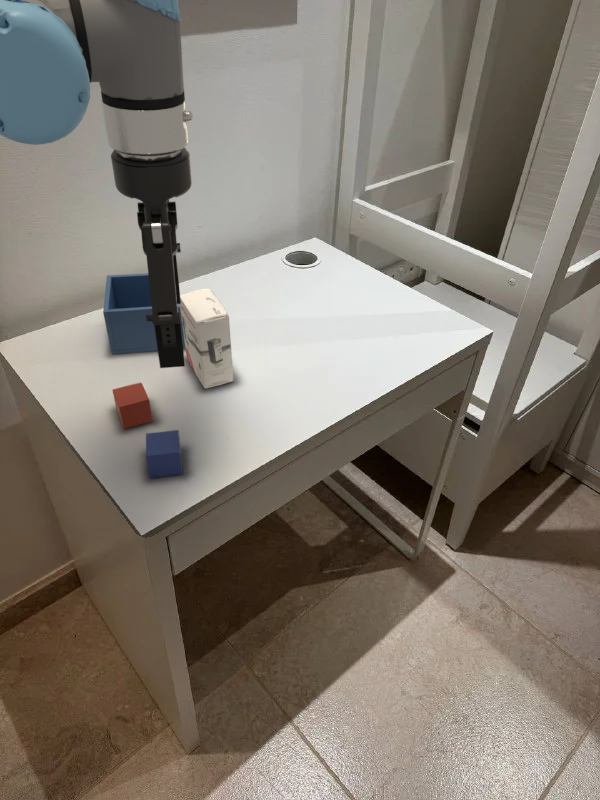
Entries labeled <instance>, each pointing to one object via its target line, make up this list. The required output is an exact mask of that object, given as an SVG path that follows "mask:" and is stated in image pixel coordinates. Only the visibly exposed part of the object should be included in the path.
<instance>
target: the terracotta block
mask: <svg viewBox="0 0 600 800" xmlns="http://www.w3.org/2000/svg"><path fill="white" fill-rule="evenodd" d="M111 391H112V395H113V400H114V404H115V409H116V412H117V415H118V418H119V421H120V423H121V426H122V428H123V430H127V429H129V428H133V427H137V426H140V425H143V424H147V423H151V422H153V414H152V409H151V408H152V407H151V401H150V398H149V395H148V394H147V390H146V389H145V387H144V384H143V383H142V382H137V383H133V384H129V385H124V386H121V387H116V388H112V390H111Z"/></svg>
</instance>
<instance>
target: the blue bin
mask: <svg viewBox="0 0 600 800" xmlns="http://www.w3.org/2000/svg"><path fill="white" fill-rule="evenodd" d="M105 279H106V281H105V290H104V301H103V311H102V313H103V318H104V324H105V327H106V328H105V329H106V332H107V339H108V343H109V347H110V352H111V355H121V354H133V353H134V354H135V353H147V352H158V349H157V341H156V334H155V327H154V324H153V322H152V321H150V322H147V319H146V315H152V304H151V294H150V285H149V275H148V272H147V273H128V274H127V273H126V274H109V275H106V278H105ZM178 280H179V278H178ZM179 281H180V280H179ZM179 290H180V288H179ZM177 308H178V312H179V313H180V323H181V332H182V342H183V350H186V346H185V339H184V332H183V324H182V317H181V310H180V304H177Z"/></svg>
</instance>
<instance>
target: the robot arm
mask: <svg viewBox="0 0 600 800" xmlns="http://www.w3.org/2000/svg"><path fill="white" fill-rule="evenodd" d="M181 22H182V15H181V12H180V7H179V0H0V136H2V137H4V138H5V139H8V140H10V141H13V142H16V143H19V144H25V145H34V146H37V145H39V146H40V145H46V144H51V143H55V142H57V141H60V140H61V139H63V138H65V137H67V136H69V135H70V134H71V133H72V132H74V130H75V129H76V128H77V127H79V125H80V123H81V122H82V120H83V118H84V117H85V115H86V113H87V109H88V107H89V103H90V100H91V83H98V84H99V88H100V95H101V107H102V113H103V120H104V125H105V132H106V138H107V145H109V147H110V148H111V149H112V153H110V159H111V166H112V171H113V172H112V173H113V178H114V183H115V188H116V190H117V191H118V192H119V193H120V194H121V195H123V196H124V197H127V198H129V199H136V200H138V201H137V210H138V211H137V212H136V216H137V218H136V219H137V225H138V228H139V231H140V233H141V244H142V246H141V247H142V251H143V254H144V255H145V256H146V264H147V273H148V275H149V285H150V294H151V304H152V315H146V319H147V322H150V321H152V322H153V324H154V327H155V334H156V341H157V349H158V351H157V357H158V362H159V363H158V364H159V369H165V368H166V369H168V368H179V367H181V368H182V367H185V366H186V364H185V354H184V349H183V342H182V332H181V323H180V313H179V312H178V308H177V304H181V300H180V295H181V291H180V290H179V289H180V280H178V279H179V272H178V262H177V261H178V260H177V253H179V254H180V253H182V250H181V243H180V242H177V241H178V240H177V229H178V226H179V225H178V213H177V202H176V201H170V200H171V199H173V198H179V197H181V196H184V195H185V194H186V193H188V192H189V191H190V189H191V188H192V183H193V181H192V170H191V154H190V152H189V150H188V149H187V148H186V147H187V145H188V144H189V136H188V126H187V123H191V122H193V121H194V115H193V112H192V111H191V110H186V101H185V100H186V97H185V85H184V70H183V69H184V67H183V49H182V33H181V31H182V30H181ZM139 201H140V202H139Z"/></svg>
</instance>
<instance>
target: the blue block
mask: <svg viewBox="0 0 600 800" xmlns="http://www.w3.org/2000/svg"><path fill="white" fill-rule="evenodd" d="M145 457H146V458H145V459H146V465H147V469H148V474H149V478H150V479H156V478H164V477H172V476H180V475H181V476H182V475H183V459H182V446H181V440H180V432H179V430H178V429H176V430H165V431H156V432H148V433H145Z"/></svg>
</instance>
